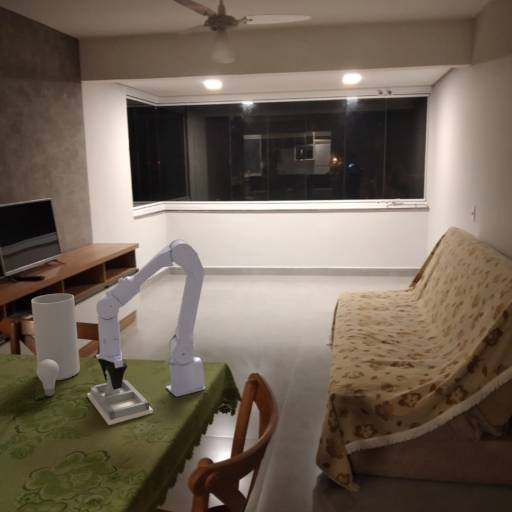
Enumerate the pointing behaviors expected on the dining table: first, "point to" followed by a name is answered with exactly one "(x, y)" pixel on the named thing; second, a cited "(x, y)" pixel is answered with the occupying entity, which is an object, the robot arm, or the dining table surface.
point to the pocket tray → (119, 403)
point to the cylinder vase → (56, 332)
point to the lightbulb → (48, 375)
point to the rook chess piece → (110, 387)
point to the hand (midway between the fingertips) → (113, 383)
